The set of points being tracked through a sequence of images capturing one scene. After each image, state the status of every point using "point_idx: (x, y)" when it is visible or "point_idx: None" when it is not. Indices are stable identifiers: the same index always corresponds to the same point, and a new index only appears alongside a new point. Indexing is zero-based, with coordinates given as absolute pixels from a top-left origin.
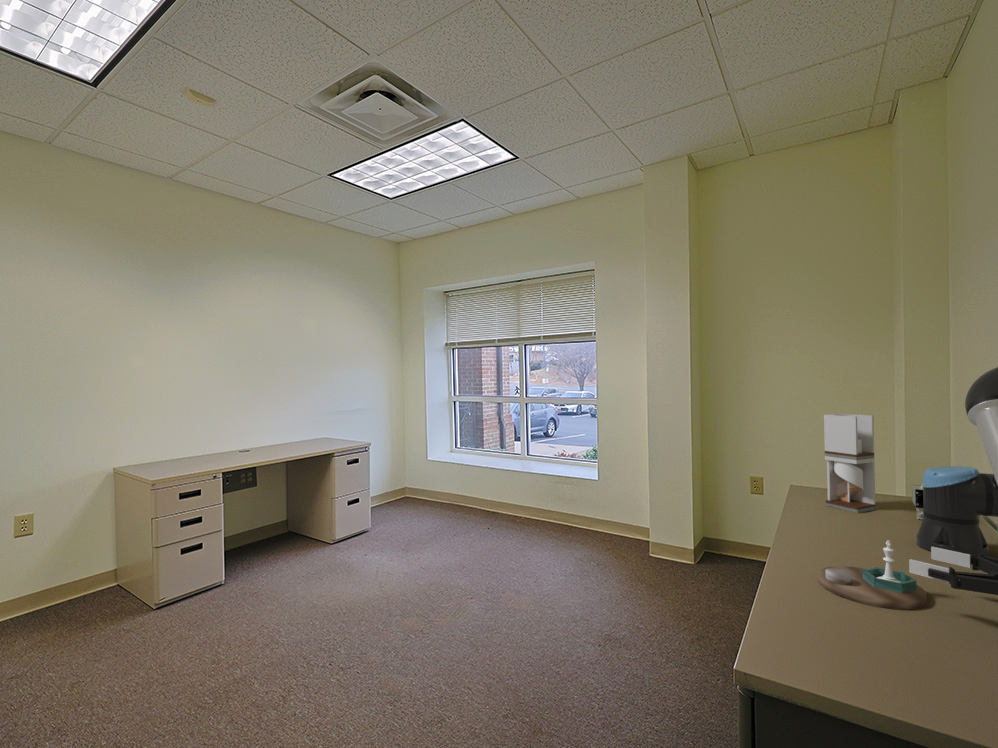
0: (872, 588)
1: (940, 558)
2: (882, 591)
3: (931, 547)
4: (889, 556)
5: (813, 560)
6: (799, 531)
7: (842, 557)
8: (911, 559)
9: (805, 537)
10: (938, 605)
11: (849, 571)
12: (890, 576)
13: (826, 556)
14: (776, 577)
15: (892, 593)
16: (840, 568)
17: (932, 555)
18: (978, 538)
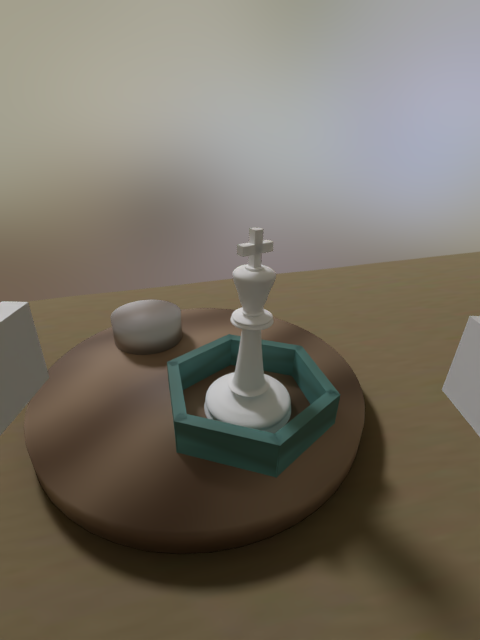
0: (149, 389)
1: (478, 409)
2: (139, 411)
3: (470, 318)
4: (242, 303)
5: (302, 300)
6: (447, 265)
7: (395, 317)
8: (21, 304)
9: (427, 273)
10: (240, 605)
11: None
12: (236, 382)
13: (360, 304)
14: (121, 295)
15: (143, 434)
16: None
17: (455, 371)
18: None
